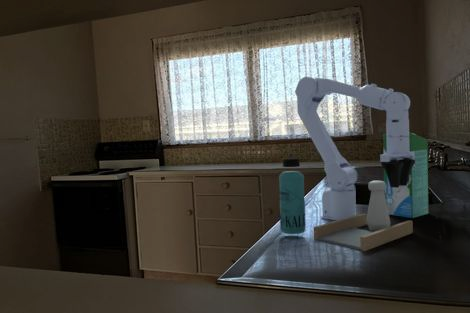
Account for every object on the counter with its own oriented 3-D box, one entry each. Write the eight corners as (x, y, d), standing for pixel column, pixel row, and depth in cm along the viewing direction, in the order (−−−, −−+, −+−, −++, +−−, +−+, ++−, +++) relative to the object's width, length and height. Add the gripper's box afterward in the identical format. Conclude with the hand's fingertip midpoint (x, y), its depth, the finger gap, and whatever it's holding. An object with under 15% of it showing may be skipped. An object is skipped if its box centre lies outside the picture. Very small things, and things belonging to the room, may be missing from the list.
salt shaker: (392, 234, 94) (391, 182, 94) (368, 233, 95) (367, 182, 95) (387, 228, 100) (386, 179, 99) (365, 228, 101) (364, 179, 100)
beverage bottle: (287, 232, 100) (284, 157, 99) (310, 235, 96) (308, 157, 95) (275, 238, 95) (272, 158, 94) (299, 241, 91) (296, 158, 90)
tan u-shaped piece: (314, 239, 93) (313, 226, 93) (363, 224, 106) (363, 213, 106) (364, 251, 82) (364, 237, 82) (412, 232, 95) (412, 220, 94)
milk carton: (428, 213, 115) (427, 131, 114) (412, 218, 110) (410, 132, 109) (401, 209, 123) (399, 132, 121) (384, 213, 118) (382, 133, 116)
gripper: (398, 137, 95) (399, 190, 96) (425, 135, 104) (426, 184, 105) (372, 137, 101) (373, 188, 102) (400, 136, 110) (401, 182, 110)
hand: (398, 186), depth 104 cm, fingers open, 4 cm apart
